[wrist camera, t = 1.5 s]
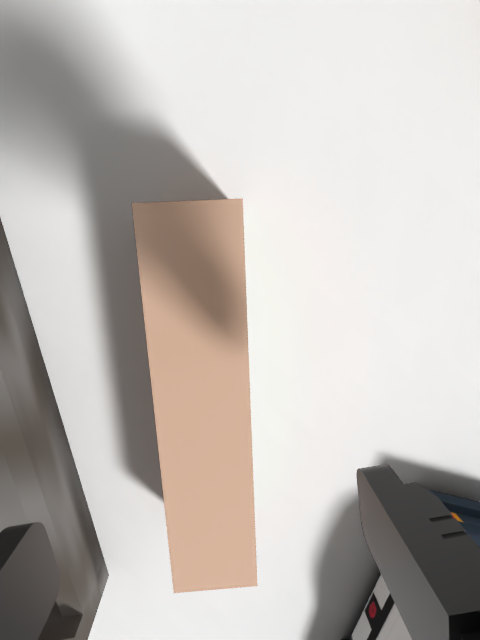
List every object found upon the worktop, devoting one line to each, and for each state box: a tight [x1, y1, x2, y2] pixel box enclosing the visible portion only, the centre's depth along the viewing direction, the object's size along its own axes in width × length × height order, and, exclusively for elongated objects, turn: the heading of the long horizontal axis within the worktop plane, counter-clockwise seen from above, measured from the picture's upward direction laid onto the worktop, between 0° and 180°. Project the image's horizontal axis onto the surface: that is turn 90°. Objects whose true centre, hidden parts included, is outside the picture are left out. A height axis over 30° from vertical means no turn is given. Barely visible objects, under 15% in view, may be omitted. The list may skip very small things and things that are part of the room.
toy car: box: [349, 490, 480, 640], centre depth 19 cm, size 5×16×5 cm, turn 163°
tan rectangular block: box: [132, 199, 257, 593], centre depth 16 cm, size 16×4×4 cm, turn 2°
